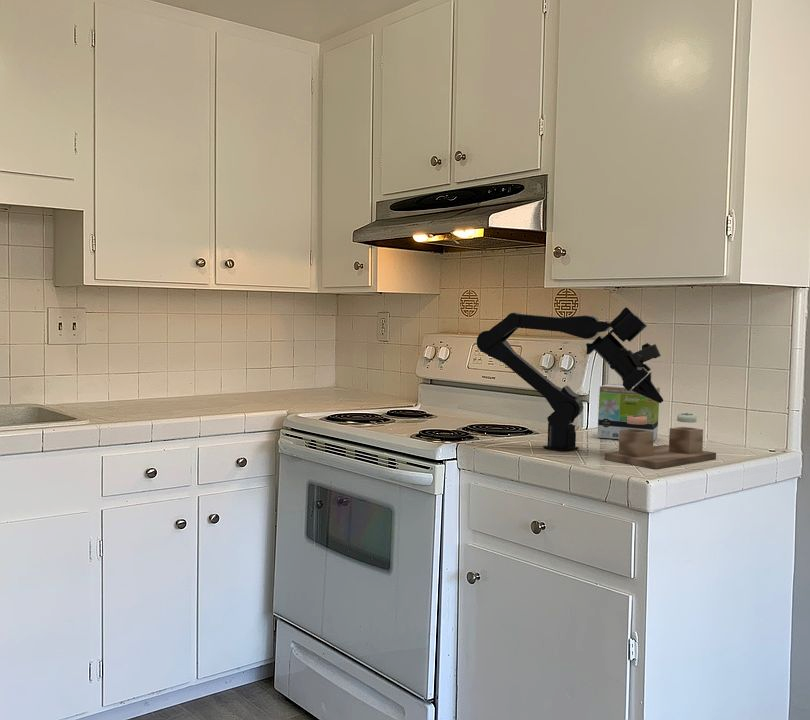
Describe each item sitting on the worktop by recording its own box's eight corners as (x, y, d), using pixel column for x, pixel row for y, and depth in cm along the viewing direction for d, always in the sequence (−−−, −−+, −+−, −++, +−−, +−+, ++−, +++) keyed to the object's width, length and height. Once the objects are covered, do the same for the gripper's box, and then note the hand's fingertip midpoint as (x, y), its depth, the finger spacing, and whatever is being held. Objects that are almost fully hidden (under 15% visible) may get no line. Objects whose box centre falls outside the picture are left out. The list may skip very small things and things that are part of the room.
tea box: (596, 438, 220) (598, 385, 219) (603, 434, 229) (605, 382, 228) (653, 443, 213) (655, 388, 213) (658, 438, 222) (660, 385, 222)
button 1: (623, 422, 186) (623, 415, 186) (634, 421, 188) (634, 414, 188) (638, 425, 182) (639, 417, 182) (650, 423, 185) (650, 416, 185)
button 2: (673, 420, 191) (673, 413, 191) (683, 419, 194) (684, 412, 194) (689, 423, 188) (689, 415, 188) (700, 421, 190) (700, 414, 190)
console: (604, 459, 187) (605, 429, 186) (664, 450, 201) (665, 423, 201) (655, 469, 176) (657, 437, 175) (715, 458, 190) (717, 429, 190)
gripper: (638, 332, 184) (687, 381, 181) (642, 331, 202) (687, 376, 199) (603, 365, 187) (650, 414, 184) (609, 362, 205) (653, 406, 202)
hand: (662, 401), depth 192 cm, fingers closed
